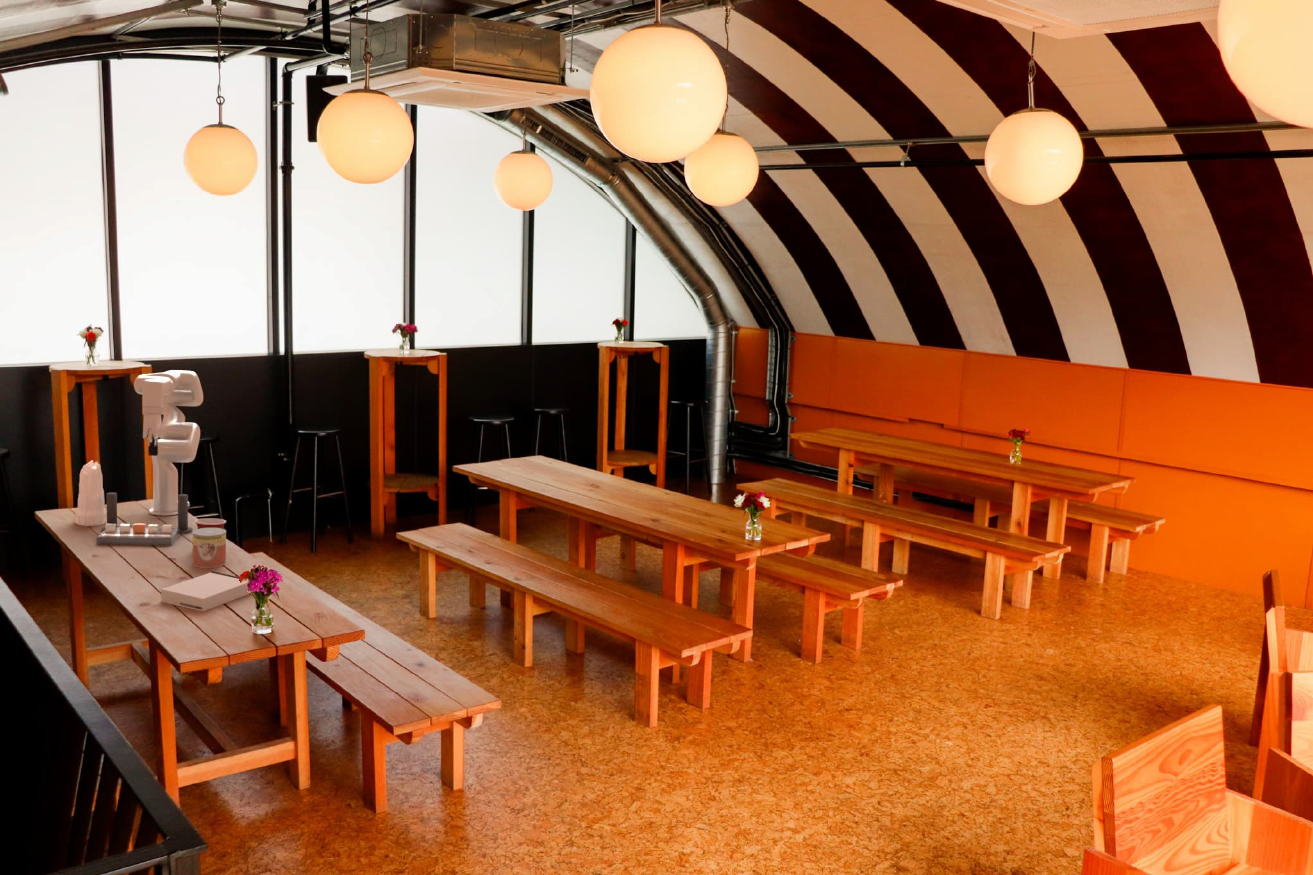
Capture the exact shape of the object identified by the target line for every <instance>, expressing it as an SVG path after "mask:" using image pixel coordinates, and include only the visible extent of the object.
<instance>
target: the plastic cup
mask: <svg viewBox="0 0 1313 875" xmlns="http://www.w3.org/2000/svg"><path fill="white" fill-rule="evenodd" d="M194 522H195V524H196V526H197V528H196V529H200V528H222V529H224V526H225V524H226V523H227V520H225V519H222V518H214V517H213V518H211V517H210V518H199V519H195V520H194Z"/></svg>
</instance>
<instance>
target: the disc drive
mask: <svg viewBox="0 0 1313 875" xmlns="http://www.w3.org/2000/svg"><path fill="white" fill-rule="evenodd" d="M239 578H241V577H239V576H235V575H230V574H227V573H221V572H218V571H213V570H212V571H210V572H208V573H206V574H203V575H199V576H197V577H193V578H190V579H188V580H184V581H181V582H178V583H175V584H173V585H170V586H169V585H168V586H166V587H163V588H161V589H160V602H161V603H165V604H170V605H174V606H179V607H182V608H187V609H191V610H194V611H195V610H196V611H199V612H204V611H208V610H210V609H213V608H215V607H218V606H221V605H223V604H227V603H229V602H232V601H234V600H236V599H239V598H242V597H244V596H247V595H250V594H249V593H248V592H247V580H245V581H243V582H242V583H240V581H239Z"/></svg>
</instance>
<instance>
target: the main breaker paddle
mask: <svg viewBox="0 0 1313 875" xmlns="http://www.w3.org/2000/svg"><path fill="white" fill-rule="evenodd" d="M132 528H133V532H145V531H146V528H147V527H146V523H140V522H139V523H133V524H132Z"/></svg>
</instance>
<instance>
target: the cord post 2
mask: <svg viewBox="0 0 1313 875" xmlns="http://www.w3.org/2000/svg"><path fill="white" fill-rule="evenodd" d="M188 502H189V495H188V494H184V493H181V494H178V514H177V528H180V535H186V534H190V533H193V528H192V527H189V526H188V525H189V506H188Z"/></svg>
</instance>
